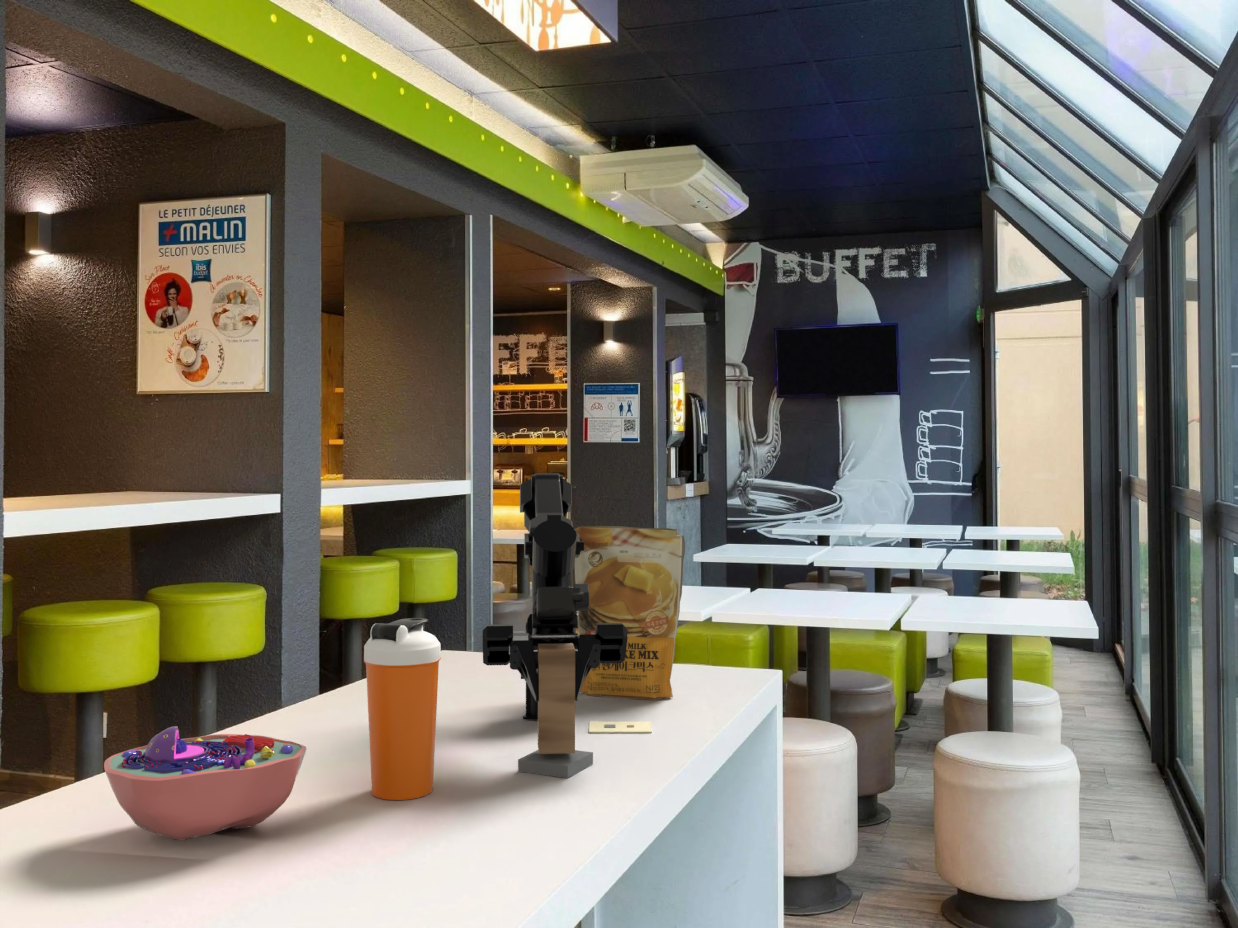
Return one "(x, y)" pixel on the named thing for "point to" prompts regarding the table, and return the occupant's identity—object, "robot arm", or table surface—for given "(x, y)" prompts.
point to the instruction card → (620, 727)
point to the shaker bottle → (402, 707)
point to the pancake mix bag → (632, 605)
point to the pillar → (556, 698)
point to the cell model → (203, 781)
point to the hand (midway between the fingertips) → (556, 699)
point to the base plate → (555, 763)
